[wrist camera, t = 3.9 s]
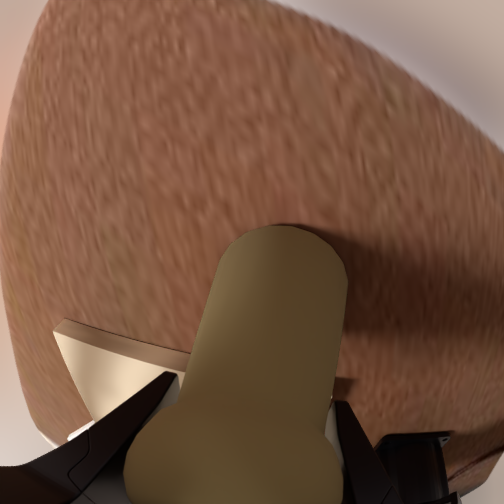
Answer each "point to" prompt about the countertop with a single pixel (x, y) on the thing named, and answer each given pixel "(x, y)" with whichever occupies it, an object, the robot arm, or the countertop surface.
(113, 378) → the birch board
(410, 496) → the robot arm
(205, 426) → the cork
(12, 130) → the countertop surface
